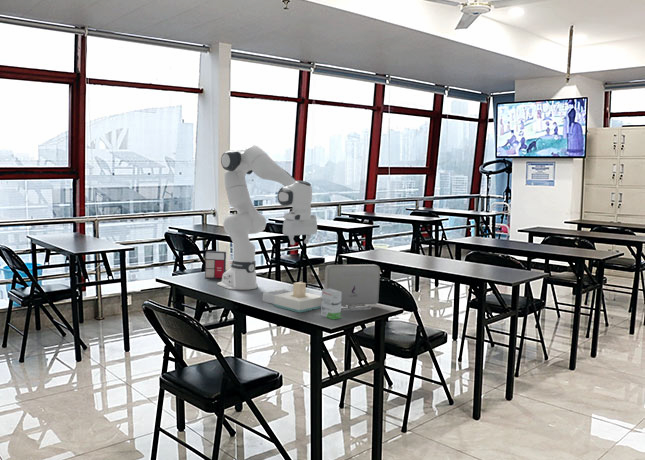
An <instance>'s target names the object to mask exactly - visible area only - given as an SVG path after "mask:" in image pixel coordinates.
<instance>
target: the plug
mask: <svg viewBox="0 0 645 460" xmlns="http://www.w3.org/2000/svg"><path fill="white" fill-rule="evenodd" d="M292 286H293V288H292V289H293V290H292V291H293V297H297V298H303V297H305V293H307V291H306V290H307V289H306V288H307V287H306V286H307V283H306V282H301V281H298V282H293V285H292Z"/></svg>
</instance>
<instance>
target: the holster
mask: <svg viewBox="0 0 645 460" xmlns="http://www.w3.org/2000/svg"><path fill="white" fill-rule="evenodd" d="M291 292H293V290H289V289H285V288H284V289H283V288H282V289H277V290H272V291H267V292H265V291H264V292H262V302H265V303H268V304H269V303H270V304H273V305H274V297H275V295H279V294H285V293H291Z"/></svg>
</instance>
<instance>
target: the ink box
mask: <svg viewBox="0 0 645 460" xmlns="http://www.w3.org/2000/svg"><path fill="white" fill-rule="evenodd" d="M321 296H322V301H321V308H320V316H321V317H324V318H327V319H329V320H337V319H341V318H342V311H341V309H342V306H341V296H342V292H340V291H337V290H334V289H324V288H322V289H321Z"/></svg>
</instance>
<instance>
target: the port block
mask: <svg viewBox="0 0 645 460" xmlns="http://www.w3.org/2000/svg"><path fill="white" fill-rule="evenodd" d="M321 301H322V295H318V294H314V293H309V292H306V293H305V297H303V298H297V297H293V292H291V293H285V294H279V295H275V297H274V304H273V305H274V306H273V307H276V308H280V309H283V310H286V311H287V310H289V311H292V312H296V313H304V312H308V310H309V311H312V309H314V310H318V309H321Z"/></svg>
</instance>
